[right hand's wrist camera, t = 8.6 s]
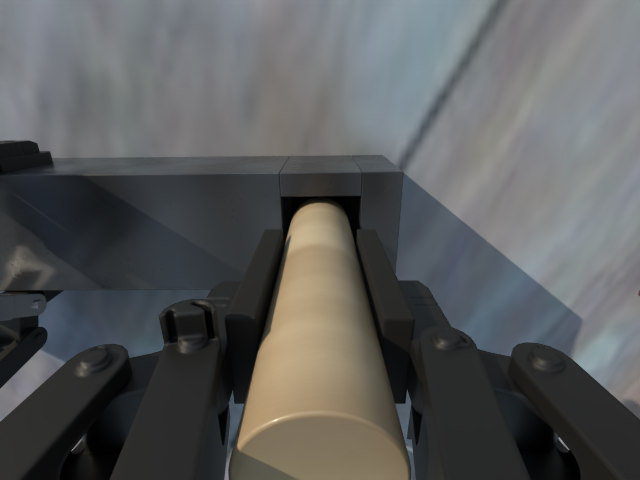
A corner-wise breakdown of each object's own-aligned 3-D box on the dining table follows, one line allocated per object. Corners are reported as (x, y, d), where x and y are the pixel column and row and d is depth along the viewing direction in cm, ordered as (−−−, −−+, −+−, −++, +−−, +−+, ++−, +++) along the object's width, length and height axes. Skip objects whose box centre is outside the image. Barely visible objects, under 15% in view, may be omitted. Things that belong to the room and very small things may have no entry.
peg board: (382, 155, 22) (403, 171, 16) (377, 246, 24) (394, 288, 19) (13, 158, 22) (-91, 176, 17) (43, 249, 24) (-39, 291, 19)
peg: (347, 251, 20) (403, 539, 6) (292, 251, 20) (235, 538, 6) (349, 196, 18) (422, 413, 5) (290, 196, 18) (217, 414, 5)
